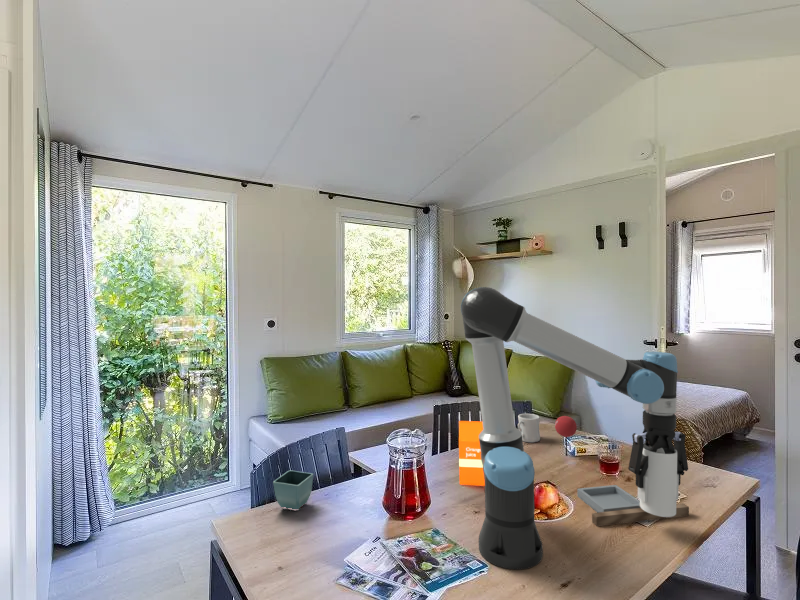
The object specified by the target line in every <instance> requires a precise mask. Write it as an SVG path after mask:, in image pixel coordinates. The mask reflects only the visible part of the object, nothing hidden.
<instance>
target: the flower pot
mask: <svg viewBox="0 0 800 600" xmlns="http://www.w3.org/2000/svg"><path fill="white" fill-rule="evenodd" d="M313 480H314V473H311V472H303V471H297V470H291V469H290V470H287V471H286V472H285V473H283V474H282V475H280V476H279V477H278V478H276V479H275V480H272V484H273V490H274V495H275V499H276V501H277V504H278V505H279V506H280V508H281V507H286V508H292V509H299V508H300V507H301V506H302V505H303V504H305V503H306V504H307V502H308V500H309V499H310V497H311V494H312V488H313V483H314V481H313ZM306 504H305V505H306ZM300 509H301V508H300ZM300 509H299V510H300Z"/></svg>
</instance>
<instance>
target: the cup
mask: <svg viewBox="0 0 800 600" xmlns="http://www.w3.org/2000/svg"><path fill="white" fill-rule="evenodd" d="M649 447H651V446H650V445H649ZM651 448H652V447H651ZM674 452H675V453H673V454H665V452H664V450H663V448H660V449H657V451H656V452H652V451H649V450H646V449H644V448H643V453H642V454H643V455H644V456H648V469H647V471H646V474H645V475H646V476H647V477H648V501H647V502H644V501H642V500H641V499H639V501H640V507H641V508H642V509H643V510H644V511H646V512H648V513H650V514H653V515H656V516H661V517H673V516H675V515H676V504H677V500H676V499H677V450H676V449H675V450H674ZM673 518H674V517H673Z"/></svg>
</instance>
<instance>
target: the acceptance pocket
mask: <svg viewBox="0 0 800 600" xmlns="http://www.w3.org/2000/svg"><path fill="white" fill-rule="evenodd" d="M576 492H577V498H579V499H580V500H581V501H582V502H584V503H585V504H586V505H587V506H588V507H589V508H591V509H592V510H594V511H595V513H599V512H608V511H617V510H626V509H636V508H641V507H640V499H639V498H636V497H635V496H633V494H631V493H629V492H627V491H626V490H624V488H622V487H620V486H619V485H616V484H611V485H601V486H591V487H581V488H577V491H576Z"/></svg>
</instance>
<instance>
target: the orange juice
mask: <svg viewBox="0 0 800 600" xmlns="http://www.w3.org/2000/svg"><path fill="white" fill-rule="evenodd" d="M482 430H483V423H482V420H481V421H480V420H479V421H478V420H477V421H476V420H475V421H473V420H458V458H459V459H458V466H459V467H458V468H459V469H458V471H459V475H458V476H459V485H460V486H462V485H463V486H477V487H480V486H481V487H485V482H484V473H483V465H482V461H481V450H480V442H479V434H480V433H481V432H482Z"/></svg>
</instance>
